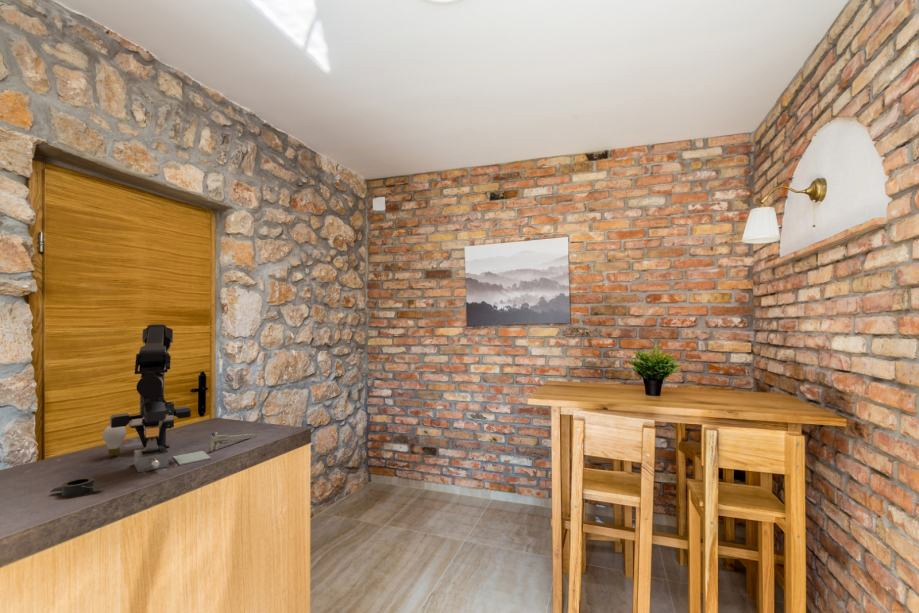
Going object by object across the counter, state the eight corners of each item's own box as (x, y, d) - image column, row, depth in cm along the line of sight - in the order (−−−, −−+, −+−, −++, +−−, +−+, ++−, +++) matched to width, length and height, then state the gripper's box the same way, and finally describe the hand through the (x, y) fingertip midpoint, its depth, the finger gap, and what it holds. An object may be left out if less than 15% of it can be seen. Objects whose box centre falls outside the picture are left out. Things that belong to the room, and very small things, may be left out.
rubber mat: (173, 457, 130) (173, 456, 130) (202, 452, 136) (202, 450, 136) (179, 465, 123) (179, 463, 123) (210, 459, 128) (210, 457, 128)
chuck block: (133, 464, 124) (134, 450, 125) (162, 458, 129) (162, 445, 129) (140, 476, 114) (140, 461, 114) (171, 470, 119) (171, 455, 119)
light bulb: (127, 456, 132) (128, 423, 133) (103, 460, 128) (104, 427, 128) (124, 452, 136) (124, 421, 137) (100, 456, 132) (101, 424, 132)
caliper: (211, 453, 135) (211, 433, 135) (208, 453, 135) (208, 433, 135) (256, 437, 155) (257, 419, 155) (254, 436, 155) (254, 419, 155)
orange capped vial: (144, 458, 123) (144, 427, 124) (156, 456, 125) (157, 425, 126) (145, 460, 121) (146, 428, 121) (158, 458, 123) (158, 427, 124)
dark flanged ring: (87, 485, 109) (87, 473, 109) (107, 491, 104) (107, 479, 105) (47, 496, 102) (48, 484, 102) (67, 503, 98) (67, 491, 98)
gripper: (113, 399, 112) (112, 459, 111) (195, 391, 125) (194, 445, 124) (110, 394, 120) (109, 450, 119) (187, 387, 133) (186, 437, 132)
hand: (151, 446), depth 123 cm, fingers closed on orange capped vial, 3 cm apart
